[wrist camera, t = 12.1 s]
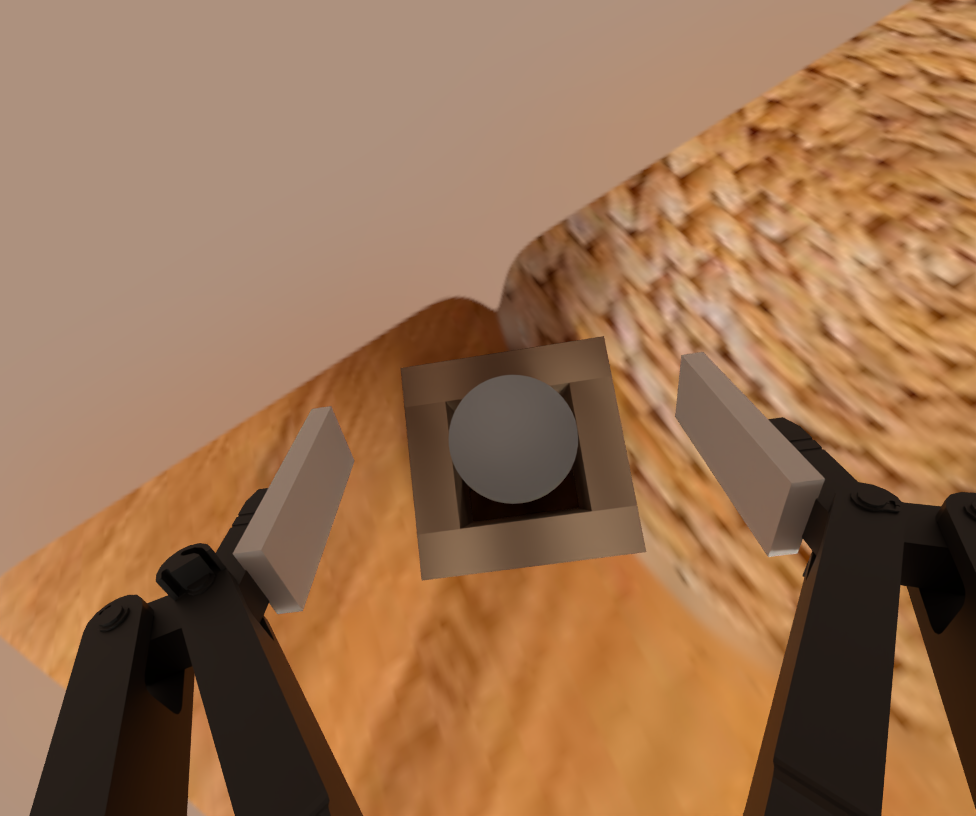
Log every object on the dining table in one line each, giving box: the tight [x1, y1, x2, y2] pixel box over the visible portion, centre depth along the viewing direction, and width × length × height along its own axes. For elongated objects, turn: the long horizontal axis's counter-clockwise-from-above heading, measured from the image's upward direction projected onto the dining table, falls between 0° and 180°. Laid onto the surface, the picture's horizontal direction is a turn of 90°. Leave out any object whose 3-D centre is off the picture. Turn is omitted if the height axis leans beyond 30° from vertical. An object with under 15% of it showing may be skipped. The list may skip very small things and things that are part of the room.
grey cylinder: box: [449, 375, 578, 504], centre depth 19 cm, size 4×4×12 cm
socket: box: [401, 336, 646, 580], centre depth 23 cm, size 10×10×5 cm
